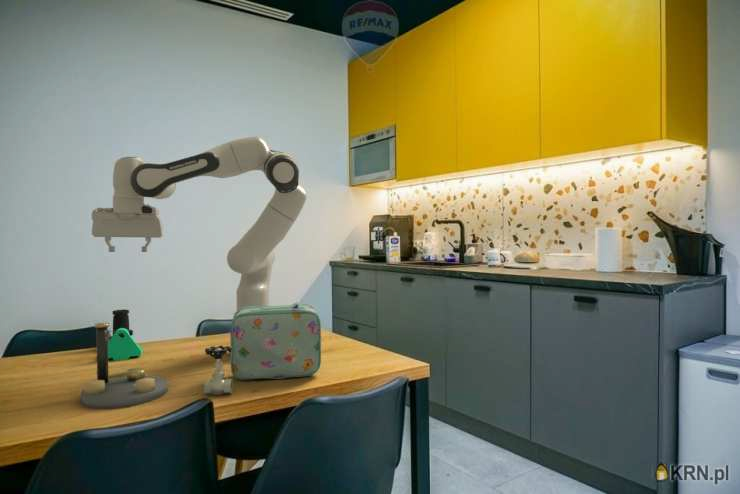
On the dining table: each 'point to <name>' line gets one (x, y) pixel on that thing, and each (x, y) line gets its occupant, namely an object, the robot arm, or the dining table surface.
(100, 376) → the lever
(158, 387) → the plate
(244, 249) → the robot arm
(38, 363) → the dining table surface
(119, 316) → the scope
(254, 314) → the lunch box
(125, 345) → the camera mount
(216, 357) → the valve
